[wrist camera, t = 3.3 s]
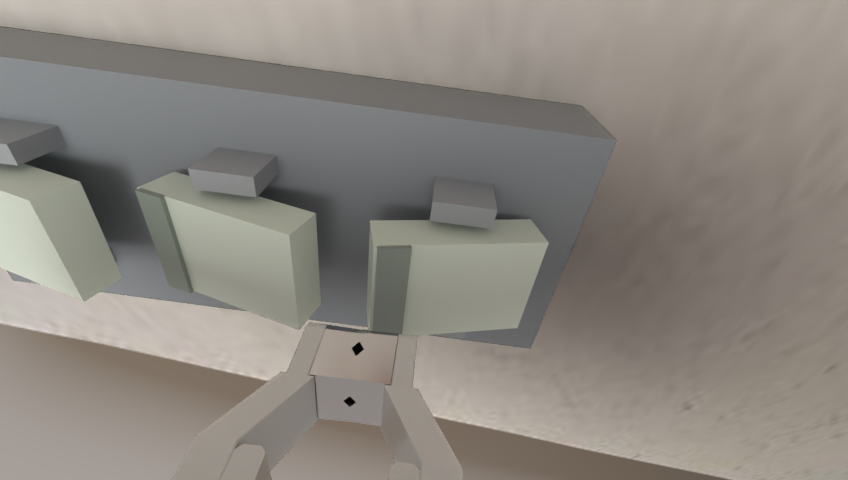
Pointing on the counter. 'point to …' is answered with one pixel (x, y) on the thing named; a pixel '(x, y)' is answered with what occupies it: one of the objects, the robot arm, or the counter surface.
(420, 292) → the switch
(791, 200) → the counter surface
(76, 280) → the switch
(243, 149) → the switch unit
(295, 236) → the switch
